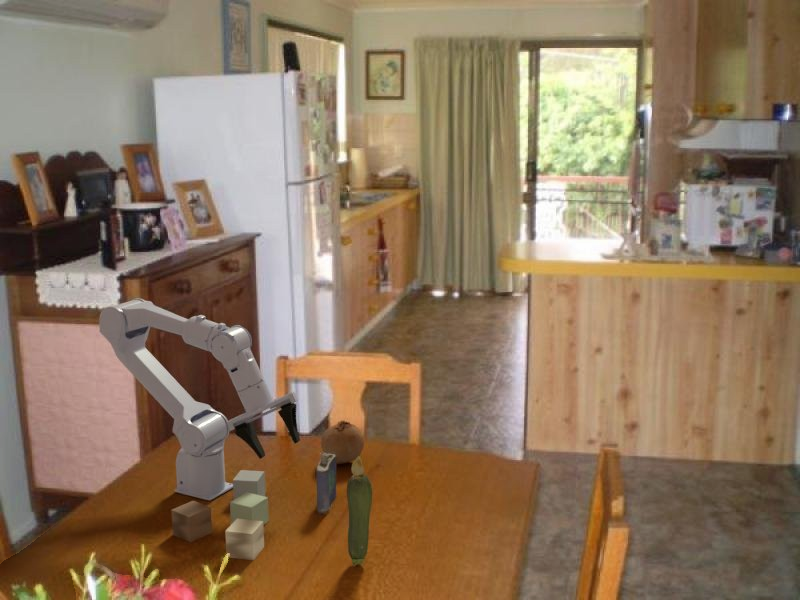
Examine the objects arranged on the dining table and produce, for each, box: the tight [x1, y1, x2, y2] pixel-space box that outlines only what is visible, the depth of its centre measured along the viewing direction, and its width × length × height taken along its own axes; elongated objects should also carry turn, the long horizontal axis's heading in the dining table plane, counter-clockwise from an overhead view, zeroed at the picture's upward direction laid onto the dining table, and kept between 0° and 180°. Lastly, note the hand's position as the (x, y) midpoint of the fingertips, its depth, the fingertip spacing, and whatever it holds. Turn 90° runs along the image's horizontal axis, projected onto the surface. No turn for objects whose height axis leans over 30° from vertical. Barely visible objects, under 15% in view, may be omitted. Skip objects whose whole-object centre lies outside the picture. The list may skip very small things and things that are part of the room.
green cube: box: [229, 492, 270, 526], centre depth 167 cm, size 5×5×5 cm
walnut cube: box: [170, 500, 213, 544], centre depth 163 cm, size 5×5×5 cm
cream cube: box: [224, 518, 265, 561], centre depth 156 cm, size 5×5×5 cm
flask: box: [316, 451, 337, 515], centre depth 175 cm, size 9×3×11 cm, turn 172°
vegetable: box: [346, 455, 373, 567], centre depth 151 cm, size 4×4×20 cm
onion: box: [320, 420, 365, 465], centre depth 195 cm, size 10×9×10 cm
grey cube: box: [232, 469, 266, 500], centre depth 178 cm, size 5×5×5 cm
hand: (280, 449), depth 173 cm, fingers open, 7 cm apart
